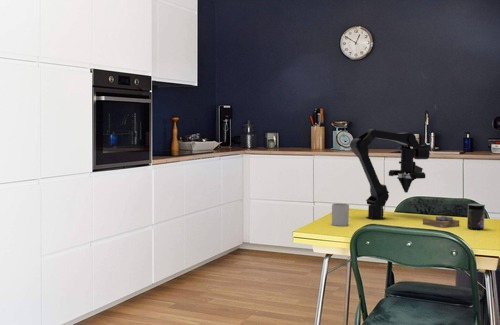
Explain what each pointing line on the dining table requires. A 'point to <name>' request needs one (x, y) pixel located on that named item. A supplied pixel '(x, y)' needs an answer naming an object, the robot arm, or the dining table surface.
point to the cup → (340, 214)
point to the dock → (441, 223)
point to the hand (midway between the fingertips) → (406, 192)
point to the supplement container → (475, 216)
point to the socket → (443, 218)
